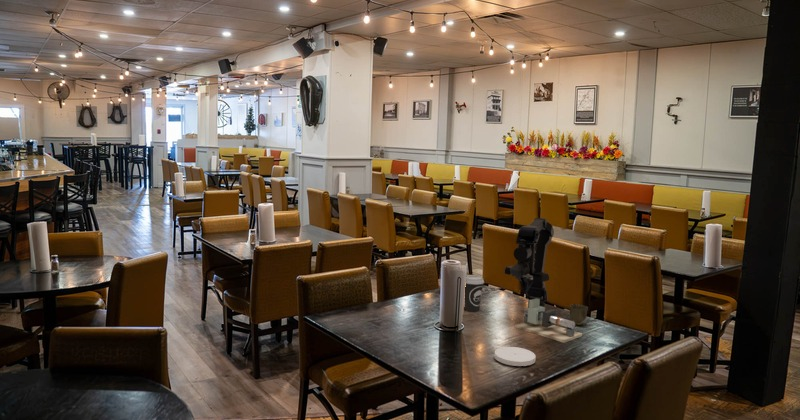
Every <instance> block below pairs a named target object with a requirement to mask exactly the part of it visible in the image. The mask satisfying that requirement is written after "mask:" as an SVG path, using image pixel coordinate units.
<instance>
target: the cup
mask: <svg viewBox="0 0 800 420" xmlns="http://www.w3.org/2000/svg"><path fill="white" fill-rule="evenodd" d="M588 311H589V306H587V305H584V304H579V303H577V304H575V303H573V304H572V303H571V304H570V305H569V315H570V316H569V317H570V320H571V321H574V322H575V326H578V327H579V326H582V325H583V322H584V321H585V320H586V318H587V314H588Z"/></svg>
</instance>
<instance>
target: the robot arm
mask: <svg viewBox="0 0 800 420" xmlns="http://www.w3.org/2000/svg"><path fill="white" fill-rule="evenodd" d="M554 234H555V229H554V227H553V225H552V223H550V222H548V220H547V219H546V218H542V217H536V218H534V220H533V221H532V222H531V223H530V224H528V225H522V226H521V227H520V228H519V229H518V233H517V235H516V236H517V237H516V241H515V244H517V245H518V247H515V249H514V250H513V256H514V259H515V260H517V263H516V264H514V265H510V266H506V267H505V268H504V271H503V272H504V274H505V275H509V276H510V275H511V277H515V279H517V280H518V281H519V284H520V286H521V290H522V292H523V295H525V300H528V303H527V308H529V300H532V299H536V298H537V299H540V304H539V306H542V307H545V308H546V305H545V302H548V291H547V288H546V283H545V282H548V281H550V276H549V273H548V272H547V273H546V272H544V270H545V264H546V256H547V255H546V254H547V249H548V245H550V243H551V242H552V239H553V237H554Z"/></svg>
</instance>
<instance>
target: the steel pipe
mask: <svg viewBox="0 0 800 420" xmlns="http://www.w3.org/2000/svg"><path fill="white" fill-rule="evenodd" d="M542 316H543V313H542V312H538V319H540V320H542ZM527 320H528V307H526V308H525V309H524V311H523V322H524V323H526V324H529V322H527ZM548 322H550V323H553V324H555V325H556V326H559V327H562V328H564V327H565V328H566V329H567V330H566V336H569V337H572V336H574V331H575V327H576V325H575V322H574V321H573V320H571V319H567V318H566V319H565V318H563V317H560V316H556V315H555V316H553V315H549V317H548Z"/></svg>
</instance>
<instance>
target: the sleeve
mask: <svg viewBox="0 0 800 420" xmlns="http://www.w3.org/2000/svg"><path fill="white" fill-rule="evenodd" d="M539 304H540V299H537V298H536V299H532V300H529V308H528V307H527V308H528V320H527V322H529V323H533V324H538V323H541V322H542V320H540V319H538V312H542V313H543V312H544V311H546V306H545V307H542V306H539Z"/></svg>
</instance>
